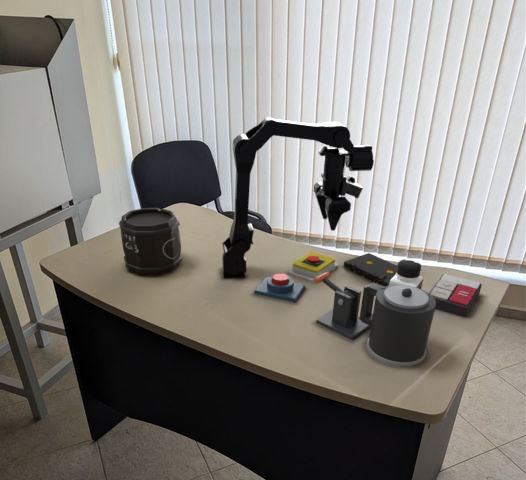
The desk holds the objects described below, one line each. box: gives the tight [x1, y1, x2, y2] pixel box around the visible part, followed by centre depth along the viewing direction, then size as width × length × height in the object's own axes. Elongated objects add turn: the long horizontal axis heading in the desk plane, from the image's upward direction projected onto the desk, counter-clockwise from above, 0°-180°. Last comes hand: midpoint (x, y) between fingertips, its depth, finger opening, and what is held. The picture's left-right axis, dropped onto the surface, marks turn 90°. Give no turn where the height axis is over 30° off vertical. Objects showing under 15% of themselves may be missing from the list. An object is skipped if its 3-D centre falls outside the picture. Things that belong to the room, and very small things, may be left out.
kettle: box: [359, 282, 436, 367], centre depth 114 cm, size 17×14×16 cm
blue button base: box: [253, 275, 306, 303], centre depth 139 cm, size 12×9×4 cm
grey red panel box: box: [428, 273, 483, 318], centre depth 137 cm, size 11×4×15 cm
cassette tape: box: [343, 252, 398, 287], centre depth 151 cm, size 18×12×2 cm, turn 37°
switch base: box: [315, 285, 371, 341], centre depth 123 cm, size 11×9×10 cm
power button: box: [272, 272, 289, 285], centre depth 138 cm, size 4×4×2 cm
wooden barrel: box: [118, 207, 183, 277], centre depth 150 cm, size 18×18×16 cm
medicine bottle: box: [389, 258, 424, 289], centre depth 134 cm, size 7×7×12 cm
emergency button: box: [289, 251, 339, 282], centre depth 152 cm, size 9×4×15 cm
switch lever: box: [313, 272, 356, 304], centre depth 123 cm, size 11×5×2 cm, turn 46°
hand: (328, 224), depth 146 cm, fingers open, 9 cm apart
